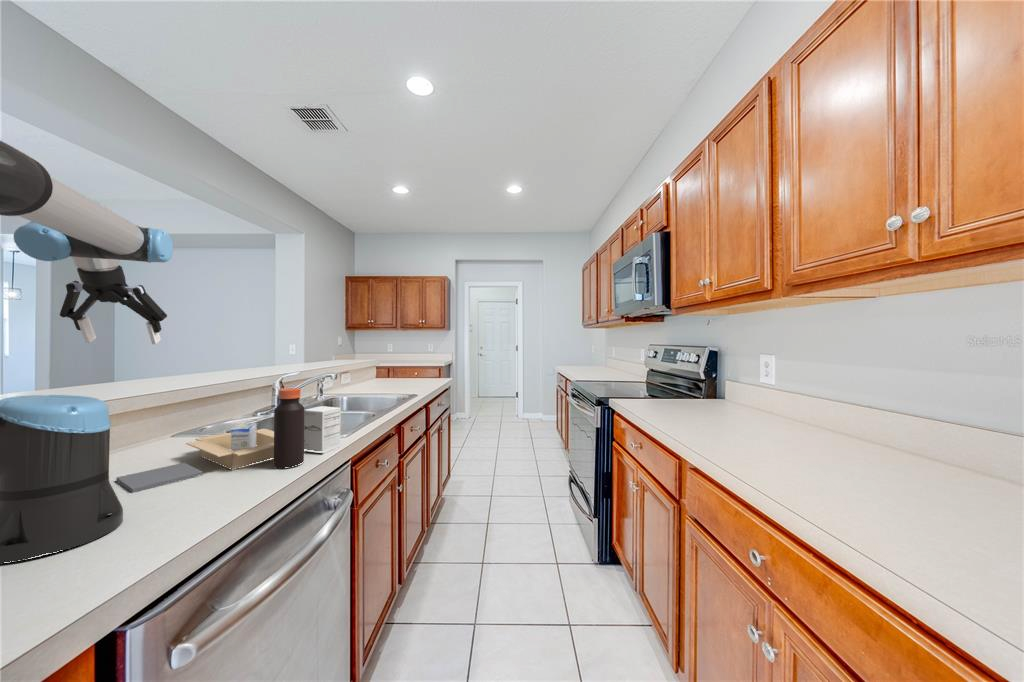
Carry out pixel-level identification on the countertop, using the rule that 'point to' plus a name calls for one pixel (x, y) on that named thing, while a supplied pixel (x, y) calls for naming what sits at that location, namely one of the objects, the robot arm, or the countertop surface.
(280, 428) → the bottle
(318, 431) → the supplement box
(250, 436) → the medicine box
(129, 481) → the mat
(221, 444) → the carton
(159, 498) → the countertop surface
